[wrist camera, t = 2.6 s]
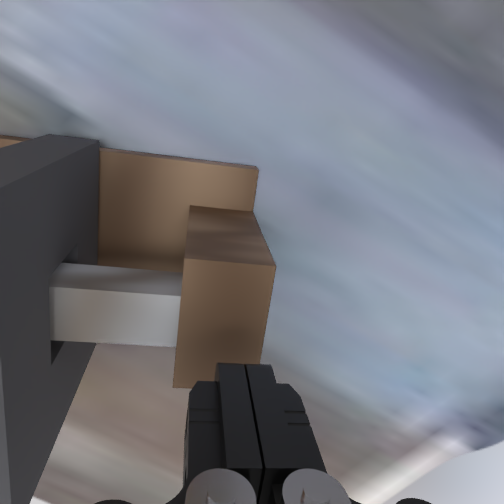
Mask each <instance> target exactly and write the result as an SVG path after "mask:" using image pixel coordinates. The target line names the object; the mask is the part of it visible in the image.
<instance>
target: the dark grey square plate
mask: <svg viewBox="0 0 504 504" xmlns="http://www.w3.org/2000/svg"><path fill="white" fill-rule="evenodd" d="M98 193H99V140H91V139H84V138H76V137H68V136H60V135H52V134H48V135H45V136H41V137H37V138H34V139H30V140H27V141H23V142H19V143H16V144H12V145H9V146H5V147H2V148H0V504H29V503H30V501H31V499H32V496H33V494H34V491H35V489H36V487H37V484H38V482H39V479H40V477H41V475H42V472H43V470H44V467H45V465H46V463H47V460H48V458H49V455H50V453H51V451H52V448H53V446H54V444H55V441H56V439H57V436H58V434H59V432H60V429H61V427H62V424H63V422H64V420H65V417H66V415H67V412H68V410H69V408H70V405H71V403H72V400H73V398H74V396H75V393H76V391H77V388H78V386H79V384H80V381H81V379H82V376H83V374H84V372H85V369H86V367H87V364H88V362H89V360H90V357H91V355H92V352H93V350H94V348H95V345H96V343H92V342H74V341H56V340H51V339H50V302H49V277H50V276H51V275H52V273H53V272H54V271H55V270H56V268H57V267H58V266H59V265H60V264H61V263H71V264H84V265H96V266H97V258H98Z"/></svg>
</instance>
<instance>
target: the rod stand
mask: <svg viewBox="0 0 504 504" xmlns="http://www.w3.org/2000/svg"><path fill="white" fill-rule="evenodd" d="M27 140H30V139H29V138H21V137H13V136H4V135H0V148H2V147H5V146H9V145H12V144H16V143H19V142H23V141H27ZM258 172H259V170H258V168H257V167H256V166H248V165H240V164H231V163H223V162H215V161H207V160H199V159H191V158H183V157H175V156H167V155H158V154H150V153H142V152H134V151H126V150H118V149H110V148H102V147H99V193H98V258H97V266H96V265H84V264H71V263H61V264H60V265H59V266H58V267H57V268H56V270H55V271H54V272H53V273H52V275H51V276H50V277H49V302H50V339H51V340H56V341H74V342H92V343H111V344H129V345H147V346H165V347H176V356H175V367H174V378H173V388H193V387H194V385H195V384H196V382H197V381H214V378H215V370H216V364H217V362H218V363H241V364H260V359H261V353H262V347H263V341H264V335H265V329H266V324H267V318H268V312H269V306H270V300H271V294H272V288H273V283H274V277H275V271H276V265H275V262H274V260H273V258H272V255H271V253H270V251H269V248H268V246H267V244H266V241H265V239H264V237H263V234H262V232H261V230H260V227H259V225H258V223H257V220H256V218H255V216H254V213H253V207H254V200H255V193H256V186H257V179H258Z"/></svg>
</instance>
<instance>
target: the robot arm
mask: <svg viewBox="0 0 504 504" xmlns="http://www.w3.org/2000/svg"><path fill="white" fill-rule="evenodd" d="M95 504H131V503H129V502H126V501H122V500H105V501H101V502H97V503H95ZM166 504H361V503H358V502H356V501H354V500H352V499H350V498H349V497H348V495H347V493H346V491H345V489H344V488H343V487H342V485H341V484H340V483H339V482H338V481H337V480H336V479H334V478H333V477H332V476H330V475H329V474H327V471H326V469H325V466H324V463H323V460H322V457H321V454H320V451H319V448H318V446H317V443H316V440H315V437H314V434H313V431H312V428H311V426H310V423H309V420H308V417H307V414H305V408H304V405H303V403H302V400H301V397H300V396H299V394H298V393H297V392H296V391H295V390H294V389H293V388H292V387H291V386H290V385H289V384H278V383H276V380H275V376H274V373H273V369H272V366H271V365H266V364H241V363H218V362H217V364H216V370H215V378H214V381H197V382H196V384H195V385H194V387H193V388H192V390H191V391H190V393H189V401H188V410H187V419H186V429H185V438H184V471H183V488H182V490H181V491H180V493H179V494H178V495H177V496H176V497H175V498H173V499H172V500H171V501H169V502H168V503H166ZM396 504H431V503H429V502H426V501H424V500H420V499H415V498H406V499H402V500H401V501H398V502H397V503H396Z"/></svg>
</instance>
